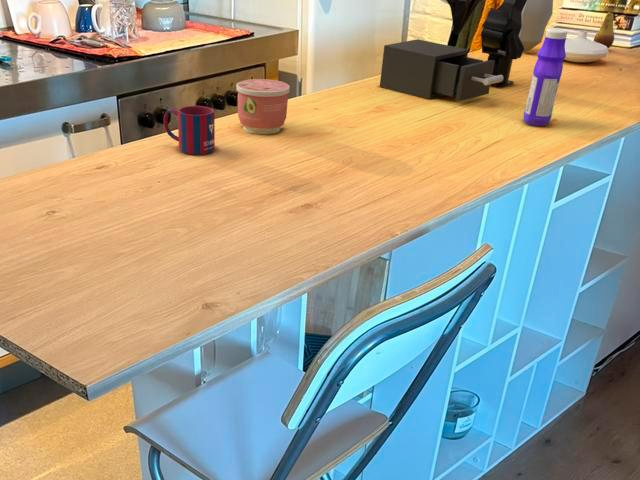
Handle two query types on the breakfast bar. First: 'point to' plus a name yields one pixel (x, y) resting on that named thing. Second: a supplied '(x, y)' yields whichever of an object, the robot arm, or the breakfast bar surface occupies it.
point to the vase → (584, 49)
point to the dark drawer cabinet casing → (414, 66)
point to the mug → (194, 129)
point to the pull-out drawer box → (464, 77)
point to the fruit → (606, 31)
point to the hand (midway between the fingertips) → (456, 33)
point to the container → (262, 105)
